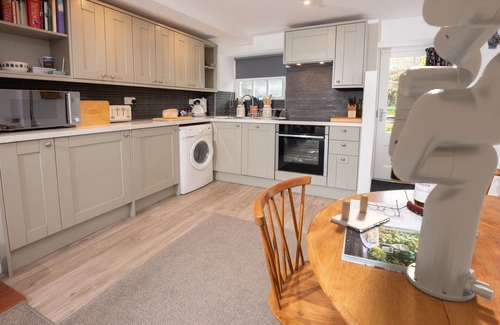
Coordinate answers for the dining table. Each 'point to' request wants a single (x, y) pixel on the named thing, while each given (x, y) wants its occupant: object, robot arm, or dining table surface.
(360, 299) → the dining table surface
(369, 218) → the plate
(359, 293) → the dining table surface
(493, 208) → the dining table surface
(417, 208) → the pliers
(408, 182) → the wooden faceted cylinder
